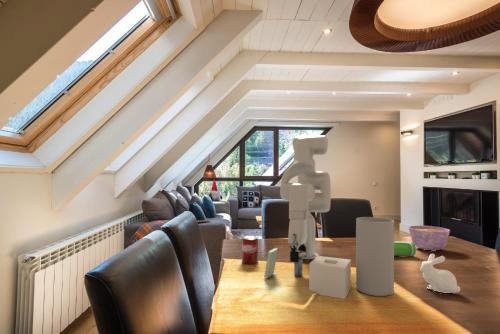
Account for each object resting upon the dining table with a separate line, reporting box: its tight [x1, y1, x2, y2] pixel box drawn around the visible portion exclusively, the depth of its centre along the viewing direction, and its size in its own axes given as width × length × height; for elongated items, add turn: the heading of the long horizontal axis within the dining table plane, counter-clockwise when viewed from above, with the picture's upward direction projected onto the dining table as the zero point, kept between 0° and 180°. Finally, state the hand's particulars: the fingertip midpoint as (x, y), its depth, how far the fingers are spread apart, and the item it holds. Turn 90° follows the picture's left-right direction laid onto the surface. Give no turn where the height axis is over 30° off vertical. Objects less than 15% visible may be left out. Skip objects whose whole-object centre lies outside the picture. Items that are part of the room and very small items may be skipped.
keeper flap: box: [263, 247, 279, 279], centre depth 125 cm, size 7×1×10 cm, turn 154°
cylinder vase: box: [355, 216, 395, 297], centre depth 114 cm, size 12×12×25 cm
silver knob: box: [293, 251, 306, 278], centre depth 126 cm, size 6×6×10 cm
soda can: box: [241, 235, 259, 266], centre depth 144 cm, size 7×7×12 cm
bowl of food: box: [408, 225, 451, 251], centre depth 177 cm, size 20×20×12 cm
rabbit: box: [419, 253, 461, 295], centre depth 115 cm, size 12×9×12 cm
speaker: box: [394, 240, 417, 257], centre depth 162 cm, size 18×7×8 cm, turn 86°
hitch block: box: [308, 255, 352, 300], centre depth 114 cm, size 12×12×10 cm
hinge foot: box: [266, 273, 278, 281], centre depth 125 cm, size 7×2×1 cm, turn 154°
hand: (298, 259), depth 126 cm, fingers open, 9 cm apart
